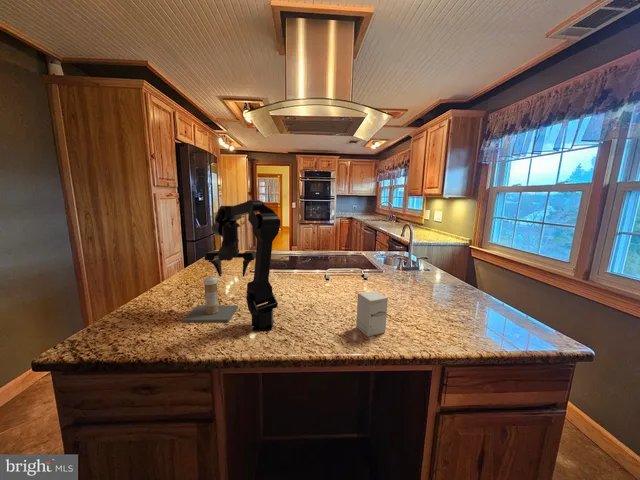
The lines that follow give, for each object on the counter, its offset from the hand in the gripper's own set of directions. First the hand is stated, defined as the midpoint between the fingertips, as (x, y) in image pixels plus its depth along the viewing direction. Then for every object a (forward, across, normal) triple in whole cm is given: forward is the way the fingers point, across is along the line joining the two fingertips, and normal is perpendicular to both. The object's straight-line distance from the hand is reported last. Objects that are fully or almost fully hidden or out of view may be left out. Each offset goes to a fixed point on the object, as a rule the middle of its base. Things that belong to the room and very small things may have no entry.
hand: (232, 276), depth 99 cm
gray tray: (+13, -6, -7) cm, 16 cm away
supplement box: (+13, +52, -19) cm, 57 cm away
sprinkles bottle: (+12, -6, -7) cm, 15 cm away
